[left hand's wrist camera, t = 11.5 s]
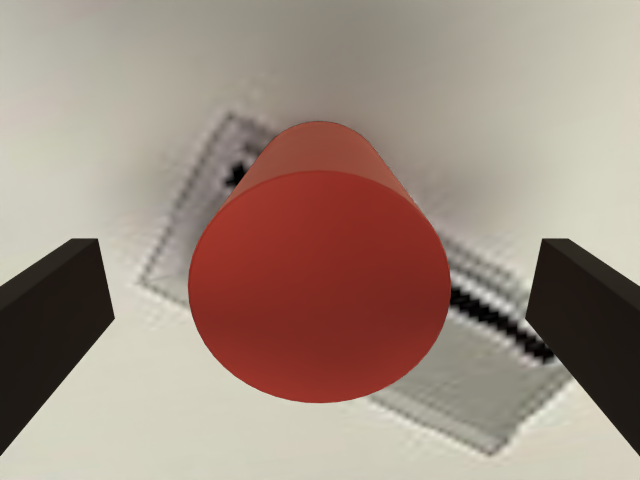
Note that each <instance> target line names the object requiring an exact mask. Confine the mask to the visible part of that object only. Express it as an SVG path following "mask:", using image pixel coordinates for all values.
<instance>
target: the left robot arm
mask: <svg viewBox="0 0 640 480" xmlns="http://www.w3.org/2000/svg"><path fill="white" fill-rule="evenodd" d="M114 319H115V317H114V312H113V307H112V303H111V298H110V293H109V289H108V284H107V279H106V275H105V270H104V265H103V261H102V256H101V251H100V247H99V242H98V239H70V240H69V241H67V242H66V243H64V244H63V245H61V246H60V247H58V248H57V249H55V250H54V251H52V252H51V253H49V254H48V255H46V256H45V257H43V258H42V259H41V260H39V261H38V262H36V263H35V264H33V265H32V266H30V267H29V268H27V269H26V270H24V271H23V272H21V273H20V274H18V275H17V276H15V277H14V278H12V279H11V280H9V281H8V282H6V283H5V284H3V285H2V286H0V456H1V455H2V454H3V452H4V451H5V450H6V449H7V448H8V446H9V445H10V444H11V443H12V442H13V440H14V439H15V438H16V437H17V435H18V434H19V433H20V432H21V431H22V429H23V428H24V427H25V426H26V425H27V423H28V422H29V421H30V420H31V419H32V417H33V416H34V415H35V414H36V413H37V411H38V410H39V409H40V408H41V407H42V405H43V404H44V403H45V402H46V401H47V399H48V398H49V397H50V396H51V395H52V393H53V392H54V391H55V390H56V389H57V387H58V386H59V385H60V384H61V383H62V381H63V380H64V379H65V378H66V377H67V375H68V374H69V373H70V372H71V371H72V369H73V368H74V367H75V366H76V365H77V363H78V362H79V361H80V360H81V359H82V357H83V356H84V355H85V354H86V353H87V351H88V350H89V349H90V348H91V347H92V345H93V344H94V343H95V342H96V341H97V339H98V338H99V337H100V336H101V335H102V333H103V332H104V331H105V330H106V329H107V327H108V326H109V325H110V324H111V323H112V321H113V320H114ZM525 319H526V320H527V321H528V323H529V324H530V325H531V326H532V327H533V329H534V330H535V331H536V332H537V333H538V335H539V336H540V337H541V338H542V339H543V341H544V342H545V343H546V344H547V345H548V347H549V348H550V349H551V350H552V351H553V353H554V354H555V355H556V356H557V357H558V359H559V360H560V361H561V362H562V363H563V365H564V366H565V367H566V368H567V369H568V371H569V372H570V373H571V374H572V375H573V377H574V378H575V379H576V380H577V381H578V383H579V384H580V385H581V386H582V387H583V389H584V390H585V391H586V392H587V393H588V395H589V396H590V397H591V398H592V399H593V401H594V402H595V403H596V404H597V405H598V407H599V408H600V409H601V410H602V411H603V413H604V414H605V415H606V416H607V417H608V419H609V420H610V421H611V422H612V423H613V425H614V426H615V427H616V428H617V429H618V431H619V432H620V433H621V434H622V436H623V437H624V438H625V439H626V440H627V442H628V443H629V444H630V445H631V446H632V448H633V449H634V450H635V451H636V452H637V454H638V455H639V456H640V286H638V285H637V284H635V283H634V282H632V281H631V280H629V279H628V278H626V277H625V276H623V275H622V274H620V273H619V272H617V271H616V270H614V269H613V268H611V267H610V266H608V265H607V264H605V263H604V262H602V261H601V260H599V259H598V258H597V257H595V256H594V255H592V254H591V253H589V252H588V251H586V250H585V249H583V248H582V247H580V246H579V245H577V244H576V243H574V242H573V241H571V240H570V239H542V242H541V247H540V251H539V256H538V261H537V265H536V270H535V275H534V279H533V284H532V289H531V293H530V298H529V303H528V307H527V312H526V317H525Z"/></svg>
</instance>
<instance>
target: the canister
mask: <svg viewBox="0 0 640 480" xmlns="http://www.w3.org/2000/svg"><path fill="white" fill-rule="evenodd" d="M450 293H451V279H450V270H449V264H448V261H447V257H446V253H445V250H444V248H443V246H442V243H441V241H440V239H439V237H438V235H437V233H436V232H435V230H434V229H433V227H432V225H431V224H430V222H429V221H428V220H427V218H426V217H425V216H424V214H423V213H422V212H421V210H420V209H419V208H418V206H417V205H416V204H415V202H414V201H413V200H412V198H411V197H410V196H409V194H408V193H407V192H406V190H405V189H404V188H403V186H402V185H401V184H400V182H399V181H398V180H397V178H396V177H395V176H394V174H393V173H392V172H391V170H390V169H389V168H388V166H387V165H386V164H385V162H384V161H383V160H382V159H381V157H380V156H379V155H378V153H377V152H376V151H375V149H374V148H373V147H372V146H371V144H370V143H369V142H368V141H367V140H366V139H365V138H363V137H362V136H361V135H360V134H358V133H357V132H355V131H354V130H352V129H350V128H348V127H346V126H343V125H340V124H337V123H331V122H322V121H316V122H307V123H303V124H299V125H296V126H293V127H291V128H289V129H287V130H285V131H283V132H282V133H280V134H279V135H278V136H276V137H275V138H274V139H273V140H272V141H271V142H270V143H269V144H268V145H267V146H266V148H265V149H264V150H263V152H262V153H261V154H260V156H259V157H258V158H257V160H256V161H255V162H254V164H253V165H252V166H251V168H250V169H249V170H248V172H247V173H246V174H245V176H244V177H243V178H242V180H241V181H240V182H239V184H238V185H237V186H236V188H235V189H234V190H233V192H232V193H231V194H230V196H229V197H228V198H227V200H226V201H225V202H224V204H223V205H222V206H221V208H220V209H219V210H218V212H217V213H216V214H215V216H214V217H213V218H212V220H211V221H210V222H209V224H208V225H207V226H206V228H205V230H204V232H203V233H202V235H201V237H200V239H199V240H198V243H197V245H196V248H195V250H194V253H193V256H192V260H191V264H190V269H189V278H188V295H189V303H190V308H191V312H192V317H193V319H194V322H195V325H196V327H197V330H198V332H199V334H200V336H201V338H202V340H203V341H204V343H205V345H206V346H207V348H208V349H209V350H210V352H211V353H212V354H213V356H214V357H215V358H216V359H217V360H218V361H219V362H220V363H221V364H222V365H223V366H224V367H225V368H226V369H227V370H228V371H230V372H231V373H232V374H233V375H234V376H236V377H237V378H239V379H240V380H242V381H243V382H245V383H246V384H248V385H250V386H252V387H254V388H256V389H258V390H260V391H262V392H265V393H267V394H270V395H273V396H275V397H279V398H283V399H287V400H291V401H298V402H305V403H332V402H341V401H347V400H352V399H356V398H359V397H363V396H366V395H369V394H371V393H374V392H376V391H379V390H381V389H383V388H385V387H387V386H389V385H391V384H392V383H394V382H396V381H397V380H399V379H400V378H401V377H403V376H404V375H406V374H407V373H408V372H409V371H410V370H412V369H413V368H414V367H415V366H416V365H417V364H418V363H419V362H420V361H421V360H422V359H423V358H424V356H425V355H426V354H427V353H428V352H429V350H430V349H431V347H432V346H433V344H434V343H435V341H436V339H437V337H438V335H439V333H440V331H441V330H442V327H443V324H444V322H445V319H446V316H447V312H448V307H449V302H450Z"/></svg>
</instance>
